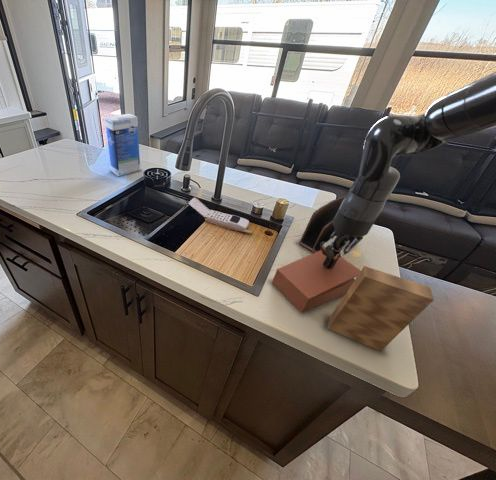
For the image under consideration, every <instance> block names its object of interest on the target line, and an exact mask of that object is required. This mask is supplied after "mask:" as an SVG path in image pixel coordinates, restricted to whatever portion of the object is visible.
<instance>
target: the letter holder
mask: <svg viewBox="0 0 496 480" xmlns="http://www.w3.org/2000/svg"><path fill="white" fill-rule="evenodd" d="M344 198H345V196H340V197H337V198H335V199H333V200H331V201H330V202H327V203H326V204H324V205H322V206H320V207H319V208H318V209H316V210H314V212H313V213H312V215H311V217H310V219H309V221H308V222H307V225H306V227H305V229H304V232H303V234H302V236H301V238H300V240H299V242H298V245H300V246H301V247H303V248H305V249H307V250H308V251H310V252H311V253H312V254H313V253H315V252H318V251H320V250H321V247H320V243H321V242H323V241H324V242H327V241H329V240H330V236H331V234H332V233H333V232H334V231H335V229H334V226H333V220H334V218H335V216H336V214H337V212H338V210H339V208H340V206H341V204H342V202H343V200H344Z"/></svg>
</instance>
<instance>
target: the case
mask: <svg viewBox="0 0 496 480" xmlns="http://www.w3.org/2000/svg"><path fill="white" fill-rule="evenodd" d="M355 279H356V278H352V279H350V280H348V281H346V282H344V283H342V284H340V285H338V286H336V287H334V288H332V289H330V290H328V291H326V292H324V293H322V294H320V295H318V296H316V297H314V298H312V299H310V300H307V299H306V298H305V297H304V296H303V295H302V294H301V293H300V292H299V291H298V290H297V289H296V288H295V287H294V286H293V285H292V284H291V283H290V282H289V281H288V280H286V279H285V278H284V277H283V276H282V275H281V274H280V273H279V272H278V271H277V270H276V271H275V273H274V276H273V279H272V281H271V283H272V284H273V286H274V287H276V288H277V289H278V290H279V292H281V294H282V295H284V297H285V298H286V299H288V301H289V302H290V303H291V304H292V305H293V306H294V307H295V308H296V309H297V310H298V311H299V312H300V313H303V312H306V311H308V310H311V309H313V308H315V307H318V306H321V305H322V304H324V303H327V302H329V301H331V300H333V299H335V298H336V299H337V298H338V297H340V296H344V295H345V294H346V292H347V291H348V289H349V288H350V287H351V285H352V284H353V282H354V281H355Z"/></svg>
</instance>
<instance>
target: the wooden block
mask: <svg viewBox="0 0 496 480" xmlns="http://www.w3.org/2000/svg"><path fill="white" fill-rule="evenodd" d="M354 279H355V281H354V282H353V284H352V285H351V287H350V288H349V289H348V291H347V292H346V293H345V294H343V297H342V298H341V299H340V301H339V302H338V304H337V306H336V307H335V308H334V310H333V311H332V313H331V315H330V316H329V317H328V324H327V329H328V330H330V331H332V332H335V333H337V334H340V335H341V336H344V337H346V338H349V339H351V340H353V341H355V342H358V343H361V344H363V345H364V346H365V345H366V346H367V347H370V348H373V349H375V350H377V351H379V352H382V351H383V350H384V349H385V348H387V346H388V345H389V344H391V342H392V341H393V340H394V339H395V338H396V337H397V336H399V335H400V334H401V332H402V331H404V330H405V329H406V328H407V327H408V326H409V325H410V324H411V323H412V322H413V321H414V320H415V319H416V318H417V317H418V316H419V315H420V314H421V313H422V312H424V310H426V309H427V308H428V306H430V304H431V303H433V302H434V300H435V299H434V296H433V292H432V289H431V287H430V286H427V285H425V284H422V283H418V282H415V281H413V280H409V279H406V278H403V277H399V276H397V275H393V274H391V273H387V272H384V271H381V270H378V269H376V268H372V267H369V266H366V265H365V266H363V268H362V269H361V272H360V273H359V275H358V276H357V277H355V278H354Z"/></svg>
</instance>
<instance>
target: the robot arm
mask: <svg viewBox="0 0 496 480" xmlns="http://www.w3.org/2000/svg"><path fill="white" fill-rule="evenodd" d="M494 128H496V71H494V72H492V73H490V74H488V75H486V76H484V77H481V78H479V79H477V80H474V81H472V82H470V83H468V84H466V85H463V86H461V87H459V88H457V89H455V90H453V91H451V92H449V93H447V94H445V95H443V96H441V97H439V98H438V99H437V100H435V101H433V103H432V104H430V106H429V107H428V109H427V110H426V112H425V113H423V114H420V115H388V116H385V117H383V118H381V119H379V120H378V121H377V122H376V123H375V124H373V125H372V127H371V128H370V130H368V133H367V135H366V137H365V140H364V143H363V144H364V145H363V149H362V153H361V159H360V165H359V170H358V173H357V175H356V177H355V179H354V181H353V183H352V184H351V187H350V189H349V191H348V192H347V193H346V195H345V196H344V197H345V198H344V200H343V202H342V204H341V206H340V208H339V210H338V212H337V214H336V216H335V218H334V220H333V226H334V229H335V231H334V232H333V233H332V234H331V236H330V240H329V241H327V242H324V241H323V242H321V243H320V247H321V251H322V254H323V255H325V256H326V259H325V260H324V262H323V265H324V266H325V267H326V268H327V269H331V268H333V267H334V266H335V264H336V262H337V260H338V259H339V258H341V257H342V258H343V256H344V255H347V254H349V252H350V251H352V250H353V248H355V247H356V246H357V245H358V244H359V243H360V242H361V241H362V240H363V239H364V237H365V236H367V235H368V234H369V232H370V231H371V229H372V227H373V226H374V224H375V223H376V221H377V219H378V218H379V216H380V215H381V213H382V211H383V209H384V208H385V205H386V203H387V201H388V199H389V197H390V196H391V194H392V193H393V191H394V190H395V189H396V186H397V184H398V182H399V181H400V179H401V173H400V172H399V170H397V168H395V167H392V166H391V164H392V160H393V158H394V157H411V156H418V155H421V154H426V153H428V152H431V151H433V150H435V149H438V148H440V147H442V146H445V145H447V144H448V143H450V142H452V141H454V140H457V139H460V138H464V137H467V136H470V135H474V134H476V133H480V132H483V131H486V130H490V129H494Z"/></svg>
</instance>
